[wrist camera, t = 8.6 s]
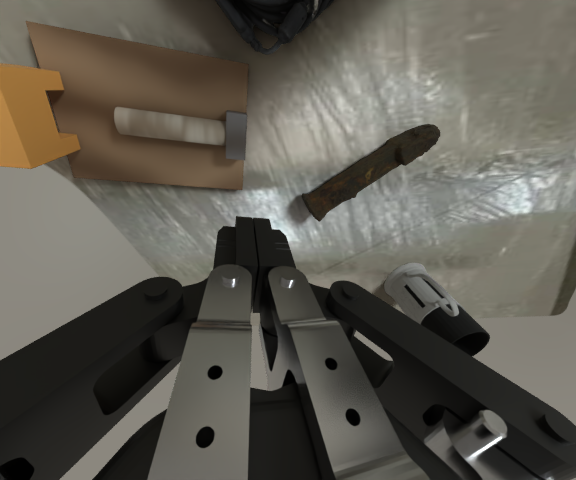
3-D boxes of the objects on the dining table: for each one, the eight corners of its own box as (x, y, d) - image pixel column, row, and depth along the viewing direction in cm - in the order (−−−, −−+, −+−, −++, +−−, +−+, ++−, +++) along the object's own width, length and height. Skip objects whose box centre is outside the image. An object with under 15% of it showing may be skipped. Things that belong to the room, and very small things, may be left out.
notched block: (17, 64, 21) (-71, 56, 15) (59, 71, 21) (-9, 65, 15) (45, 145, 24) (-18, 164, 18) (80, 149, 25) (31, 168, 19)
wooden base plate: (37, 25, 21) (-1, 12, 18) (247, 65, 25) (249, 61, 22) (81, 173, 27) (59, 185, 24) (241, 185, 32) (242, 197, 28)
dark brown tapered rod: (310, 213, 36) (320, 229, 32) (298, 192, 34) (306, 206, 30) (427, 142, 34) (453, 150, 30) (422, 115, 31) (449, 119, 28)
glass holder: (388, 302, 51) (439, 373, 38) (373, 256, 43) (430, 325, 30) (428, 284, 50) (492, 350, 37) (419, 233, 42) (497, 295, 29)
